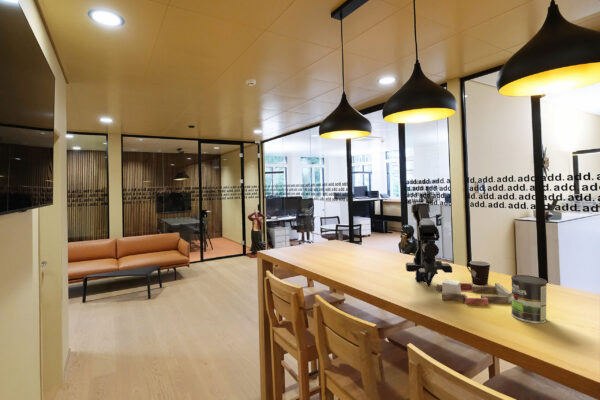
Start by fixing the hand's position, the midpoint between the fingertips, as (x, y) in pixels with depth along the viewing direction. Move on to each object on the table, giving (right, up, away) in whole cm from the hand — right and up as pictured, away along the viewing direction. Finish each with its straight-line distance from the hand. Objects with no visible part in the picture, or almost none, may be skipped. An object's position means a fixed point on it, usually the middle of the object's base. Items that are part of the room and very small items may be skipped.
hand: (428, 286), depth 137 cm
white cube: (+9, -4, -2) cm, 10 cm away
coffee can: (+25, -4, -26) cm, 37 cm away
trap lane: (+17, -3, -4) cm, 18 cm away
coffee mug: (+30, -2, +14) cm, 33 cm away
